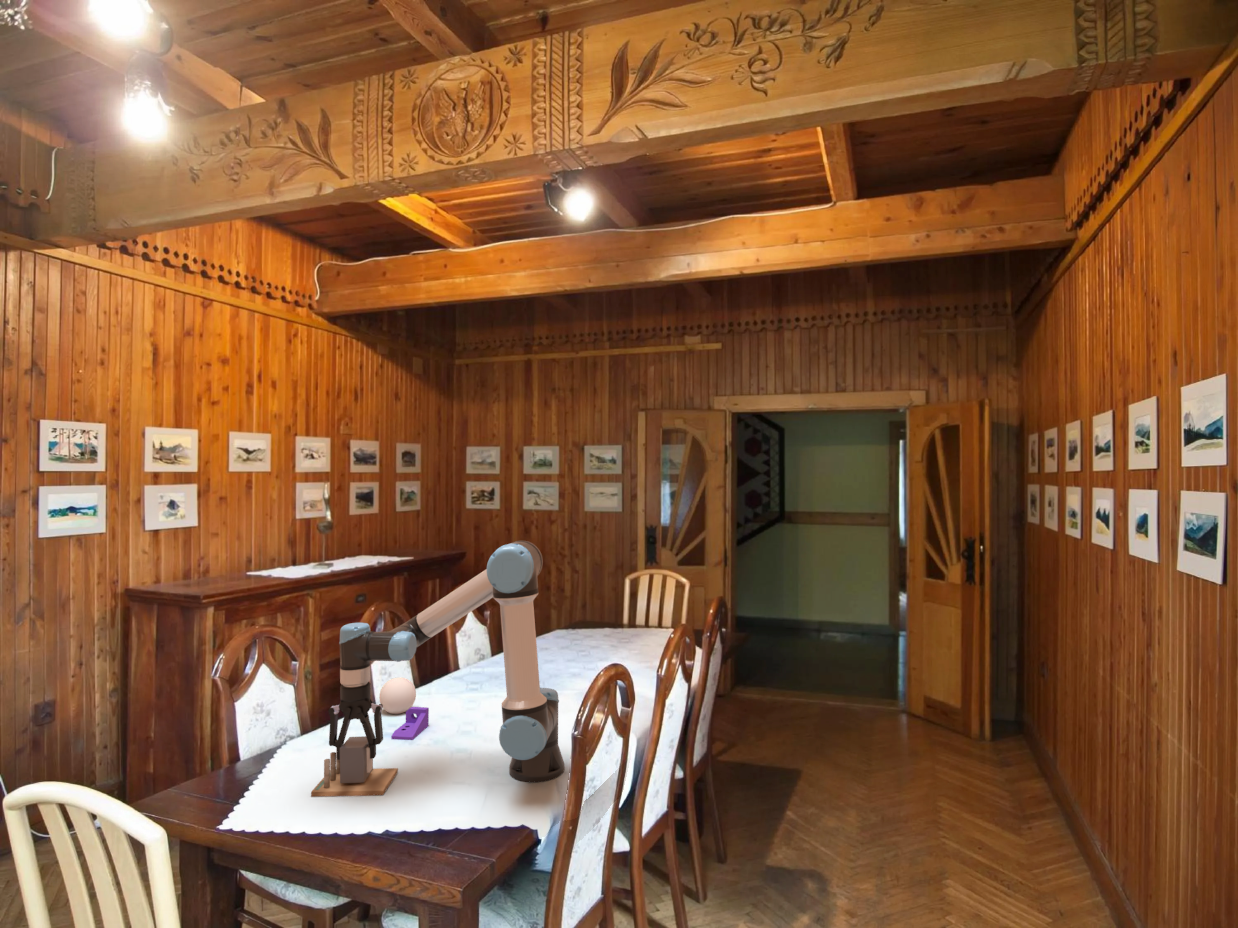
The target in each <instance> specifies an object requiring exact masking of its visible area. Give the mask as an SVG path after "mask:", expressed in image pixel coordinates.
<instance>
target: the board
mask: <svg viewBox="0 0 1238 928" xmlns="http://www.w3.org/2000/svg"><path fill="white" fill-rule="evenodd" d="M335 748H336V747H335ZM329 754H330V755H329V756H330V757H329V758H326V759H324V760H323V777H322V779H321V780H320V781H319V782H318V783H317V785H316V786H315V787H314V788H313V789H312V790H311V793H310V797H311V798H312V797H355V796H356V797H358V796H360V797H361V796H365V797H367V796H368V797H369V796H370V797H371V796H384V794H385V793H386V791H387V790H388V789H389V787H390V786H391V784H392V783H393V780H394V779H395V778H396V776H397V774H399V773H398V772H399V771H398V770H399V769H398V767H393V768H389V767H387V768H383V767H382V768H373V770H372V772H371V773H370V775H369V776H368V777H367V779H366V780H365V781H364V782H362V783H340V760H337V748H336V749H335V751H333V752H330V753H329Z"/></svg>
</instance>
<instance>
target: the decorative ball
mask: <svg viewBox="0 0 1238 928" xmlns="http://www.w3.org/2000/svg"><path fill="white" fill-rule="evenodd" d="M416 697H417V691H416V686H415V685H414V683H413V682H412V681H410V680H409V679H408V678H405V677H395V678H391V679H389V680H388V681H386V682H384V684H383V686H382V687H381V689H380V692H379V704H382V705H383V708H382V710H384V711H385V712H387V713H388V714H393V715H399V714H403V713H406V711H407V710H408V709H410V708H411V707H413V705H414V703H415V701H416Z"/></svg>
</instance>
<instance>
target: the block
mask: <svg viewBox="0 0 1238 928" xmlns="http://www.w3.org/2000/svg"><path fill="white" fill-rule="evenodd" d="M368 745H369V743H368V740H367V737H366V735H364V736H349V737H348V739H346V740H345V741H344V744H343V745H342V746H341V747H340V783H362V782H364V781H365V780H366V779H367V777H368V776H369V775H370V773H371V772H372V770H373V769H374V768H373V769H372V770H371V771H370V773H367V751H366V748H367V746H368ZM372 760H373V761H374V759H372Z"/></svg>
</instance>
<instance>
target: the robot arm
mask: <svg viewBox="0 0 1238 928" xmlns="http://www.w3.org/2000/svg"><path fill="white" fill-rule="evenodd" d="M543 560H544V559H543V555H542V553H541V551H540V549H539V548H538V547H537V546H536V544H534V543H533V542H530V541H528V540H527V541H526V540H516V541H513V542H511V543H508V544H507V543H506V544H504V545H501V546H500V547H498V548H497V549H495V551H494V552H493V553H492V554H491V555H490V557H489V559H488V561H487V564H486V569H484V570H483V571H482V572H480V573H478V574H477V575H475V576H474V577H472V578H471V579H469V580H468V581H466V582H465V583H463V584H462V585H460V586H459V587H457V588H456V589H454V590H453V591H451V592H449V593H448V594H447V595H445V596H444V597H442V598H440V599H439V600H438V601H436V602H434V603H432V604H431V605H430V606H428V607H426V608H425V609H424V610H423V611H421V612H419V613H417V615H415V616H413V617H412V618H410V619H408V620H407V621H406V622H404V623H402V624H400V625H399V626H397V627H395V628H393V629H390V630H389V631H372V630H371V626H370V625H369V623H367V622H352V623H346V624H345V625H342V626H341V628H339V629H340V630H339V642H338V645H339V663H340V665H339V667H340V668H339V679H340V681H339V682H340V684H341V685H340V686H339V690H340V691H339V692H340V693H339V694H340V695H339V697H340V702H339V704H336V705H331V707H330V708H329V709H328V714H329V718H330V719H329V720H330V721H329V735H328V736H329V738H328V745H329V746H330V747H335V748H337V760H340V747H341V746H342V745H343V744H344V743H345V741H346V736H347V733H348V730H349V726H350V723H351V721H352V720H359V721H360V722H359V723H361V725H362V729H363V731H364V733H365V736H366V737H367V740H368V743H369V745H368V746H367V748H366V751H367V773H370V771H371V770H372V769H374V759H375V758H376V756H377V746H378V745H380V744H381V743H382V742H383V740H384V731H383V721H382V720H383V719H382V717H383V716H382V711H383V705H382V704H381V703H379V704H376V703H373V700H372V698H371V697H372V695H371V693H372V692H371V682H370V681H371V662H375V661H376V662H397V663H398V662H407V661H411V660H412V659H413V658H414V655H416V652H417V648H418V647H420V646H421V645H423V644H424V643H425V642H427V641H428V640H429V639H431V638H433V637H434V636H436V635H437V634H439V633H441V632H442V631H443V630H445V629H446V628H448V627H449V626H451V625H452V624H454V623H456V622H458V621H459V620H460V619H462V618H463V617H465V616H467V615H468V614H469V613H471V612H473V611H474V610H476V609H477V608H479V607H480V606H483V604H485V603H487V602H488V601H490V600H491V599H494V600H495V601H496V602H497V603H498V604H499V608H500V609H499V610H500V611H499V613H500V625H501V637H502V638H501V639H502V650H503V660H504V661H503V663H504V674H505V675H504V676H505V677H504V679H505V689H506V696H505V699H504V700H503V701H502V702H501V714H502V715H501V716H502V724H501V726H500V729H499V734H498V739H499V744H500V747H501V748H502V750H503V751H504V753H505V754H507V755H508V756H509V757H510V758H511V761H510V762H509V767H508V769H509V771H508V772H509V776H510V777H511V778H512V779H513V780H516V781H517V782H523V783H532V784H533V783H544V782H548V781H551V780H555V779H557V778H559V777H561V775H563V773H564V772H565V762H564V759H563V755H562V752H561V749H560V746H559V703H560V700H559V693H558V691H557V690H555V689H553V688H549V687H540V686H541V685H540V684H541V683H540V674H539V673H540V672H539V659H538V646H537V632H536V623H535V622H536V620H535V609H534V601H535V599H536V598H537V596H538V595H539V583H538V581H539V580H538V576H539V575H540V573H541V572H542V569H543V563H544V562H543ZM370 710H372V713H373V714H374V715H373V721H374V730H373V727H372V724H371V720H370V716H369V711H370ZM340 712H341V713H342V714H343V715H344V717H343V720H342V724H341V727H340V730H339V734H338V724H339V713H340ZM374 731H375V732H374ZM372 759H373V760H372Z"/></svg>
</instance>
